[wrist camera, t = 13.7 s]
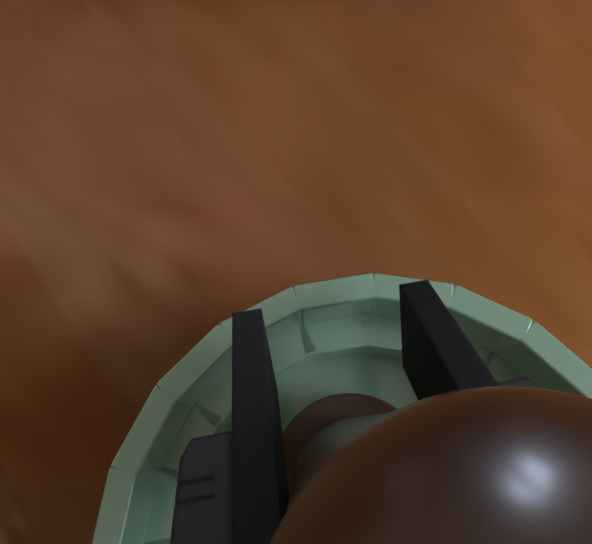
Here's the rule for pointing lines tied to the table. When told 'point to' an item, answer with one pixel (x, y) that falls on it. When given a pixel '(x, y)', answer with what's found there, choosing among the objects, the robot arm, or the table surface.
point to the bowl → (308, 380)
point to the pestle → (441, 469)
